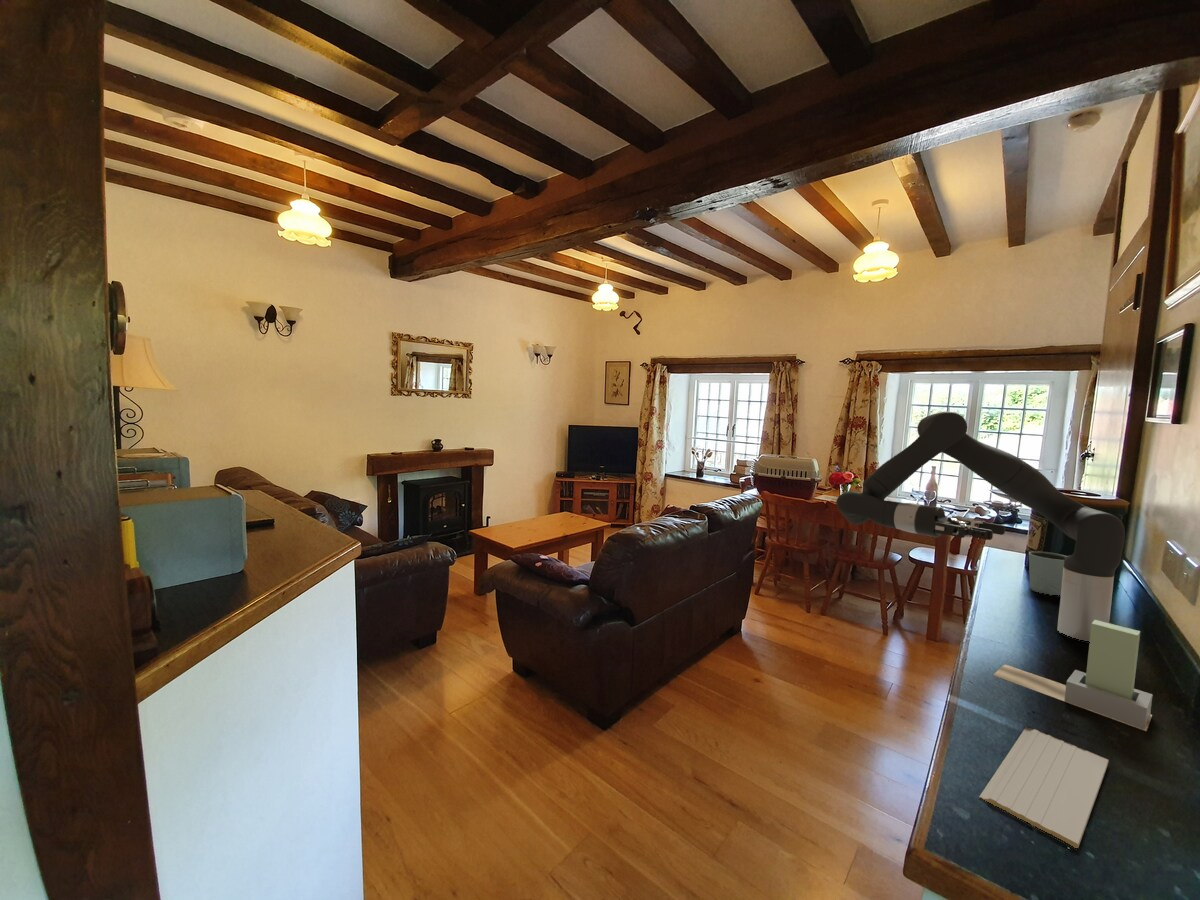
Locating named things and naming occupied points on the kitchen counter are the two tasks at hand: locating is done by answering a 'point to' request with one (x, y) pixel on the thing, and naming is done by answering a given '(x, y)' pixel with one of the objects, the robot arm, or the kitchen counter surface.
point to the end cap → (1109, 701)
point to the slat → (1112, 658)
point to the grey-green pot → (1046, 572)
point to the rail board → (1040, 685)
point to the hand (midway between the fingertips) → (998, 532)
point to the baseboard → (1048, 784)
